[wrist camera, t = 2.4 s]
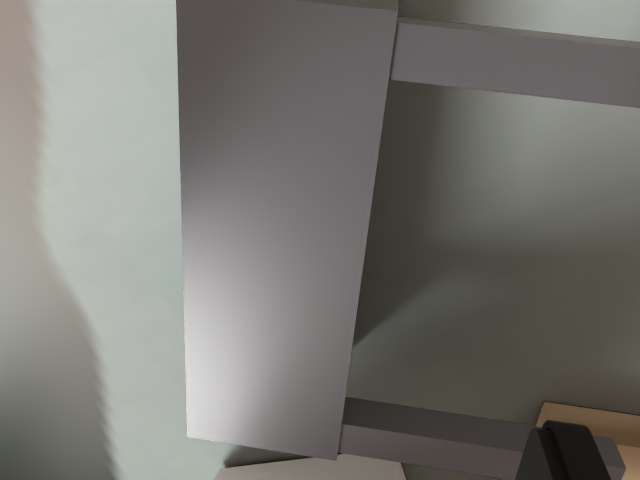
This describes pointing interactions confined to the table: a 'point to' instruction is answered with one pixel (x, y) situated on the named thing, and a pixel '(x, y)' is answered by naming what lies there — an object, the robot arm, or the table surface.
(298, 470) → the milk carton
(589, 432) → the robot arm
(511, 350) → the table surface
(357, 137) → the grey bracket
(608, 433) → the stacked wooden blocks
